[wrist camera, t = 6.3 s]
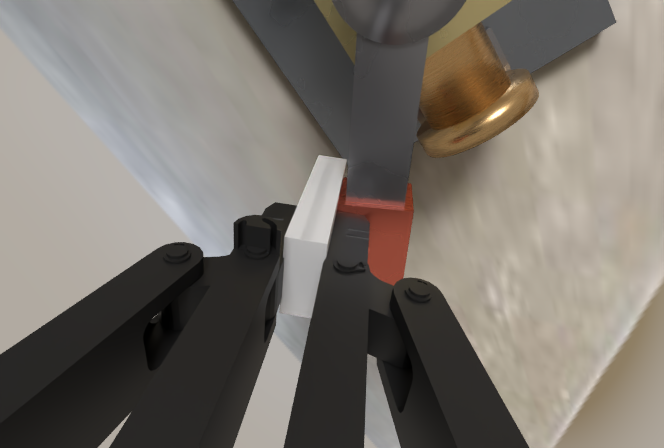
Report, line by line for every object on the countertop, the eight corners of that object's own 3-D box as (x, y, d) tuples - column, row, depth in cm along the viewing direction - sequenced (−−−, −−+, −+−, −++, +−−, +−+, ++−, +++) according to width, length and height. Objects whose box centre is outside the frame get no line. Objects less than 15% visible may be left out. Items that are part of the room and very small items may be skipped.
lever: (337, -120, 11) (324, -148, 9) (482, -118, 11) (502, -146, 9) (323, 260, 18) (313, 294, 16) (415, 271, 17) (417, 307, 15)
